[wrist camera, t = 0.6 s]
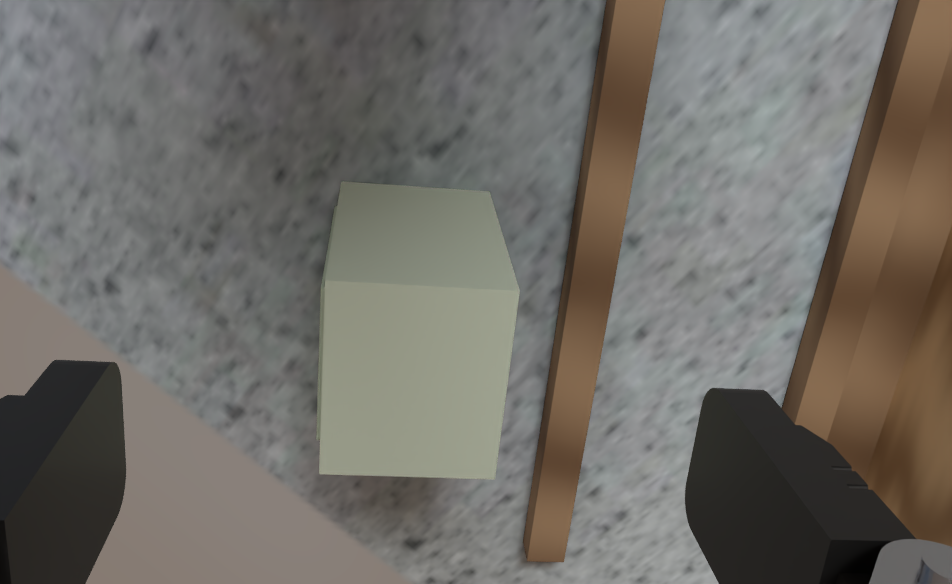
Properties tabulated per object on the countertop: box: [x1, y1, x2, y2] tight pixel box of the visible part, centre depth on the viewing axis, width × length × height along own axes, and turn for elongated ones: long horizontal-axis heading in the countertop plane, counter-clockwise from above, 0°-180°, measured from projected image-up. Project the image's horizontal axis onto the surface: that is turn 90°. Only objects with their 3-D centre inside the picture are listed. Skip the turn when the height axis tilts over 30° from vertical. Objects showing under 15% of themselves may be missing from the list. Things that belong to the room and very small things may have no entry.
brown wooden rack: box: [523, 0, 952, 562], centre depth 25 cm, size 26×16×16 cm, turn 174°
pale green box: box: [316, 181, 520, 479], centre depth 28 cm, size 6×5×8 cm
